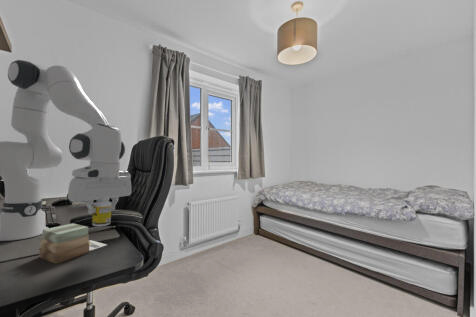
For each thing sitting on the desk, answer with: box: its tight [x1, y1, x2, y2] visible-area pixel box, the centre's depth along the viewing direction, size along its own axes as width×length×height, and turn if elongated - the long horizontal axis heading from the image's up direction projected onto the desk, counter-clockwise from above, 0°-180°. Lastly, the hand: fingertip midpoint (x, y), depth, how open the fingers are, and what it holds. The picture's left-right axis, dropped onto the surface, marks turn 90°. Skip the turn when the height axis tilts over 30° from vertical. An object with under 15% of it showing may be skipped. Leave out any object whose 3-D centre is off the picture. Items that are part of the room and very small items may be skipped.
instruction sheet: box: [89, 239, 108, 252], centre depth 84 cm, size 10×6×1 cm, turn 66°
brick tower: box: [38, 222, 90, 264], centre depth 75 cm, size 10×10×9 cm
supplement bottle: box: [91, 196, 112, 227], centre depth 75 cm, size 5×5×10 cm
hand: (102, 211), depth 75 cm, fingers closed on supplement bottle, 5 cm apart
